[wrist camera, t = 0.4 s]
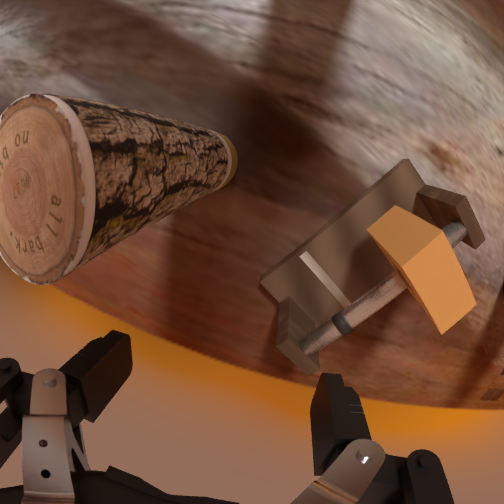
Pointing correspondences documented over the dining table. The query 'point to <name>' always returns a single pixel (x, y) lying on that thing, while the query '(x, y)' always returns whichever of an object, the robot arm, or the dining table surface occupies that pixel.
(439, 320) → the collar
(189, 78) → the dining table surface
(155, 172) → the bark log section
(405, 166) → the pipe stand
